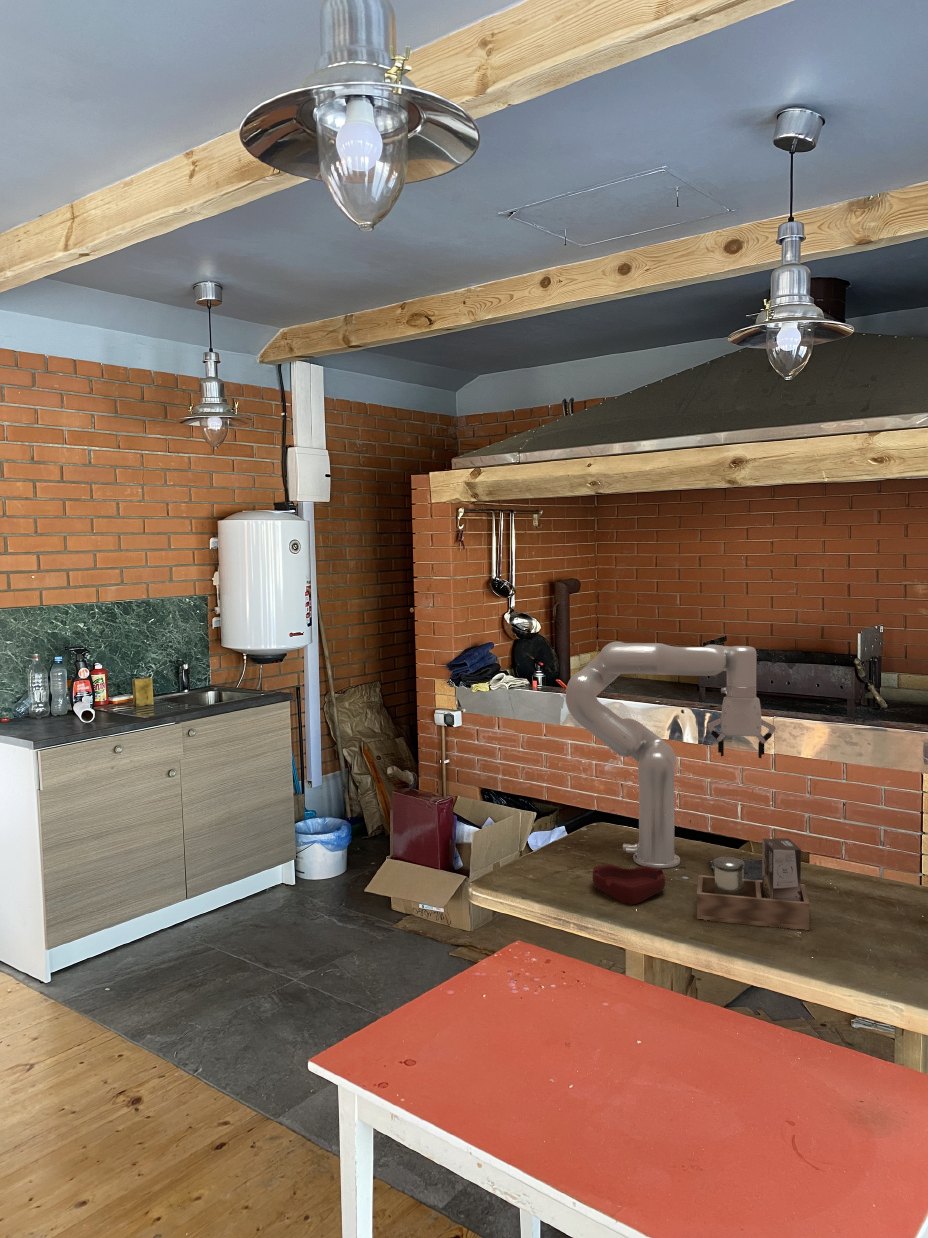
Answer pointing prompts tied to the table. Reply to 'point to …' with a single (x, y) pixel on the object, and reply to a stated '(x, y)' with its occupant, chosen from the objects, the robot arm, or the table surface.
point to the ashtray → (629, 882)
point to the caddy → (751, 906)
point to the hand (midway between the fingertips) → (740, 756)
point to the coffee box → (781, 869)
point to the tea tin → (729, 876)
